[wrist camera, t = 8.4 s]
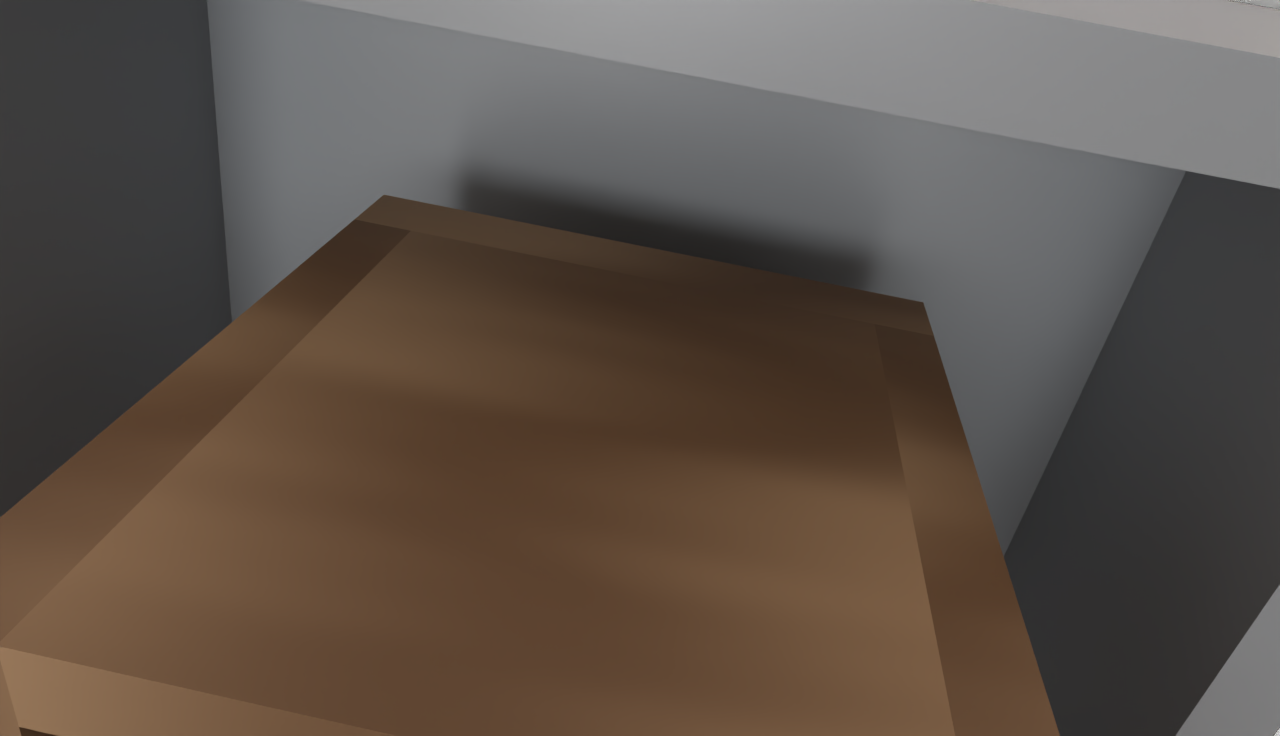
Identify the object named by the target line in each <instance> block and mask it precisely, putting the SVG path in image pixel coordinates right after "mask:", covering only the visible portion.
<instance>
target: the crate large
mask: <svg viewBox="0 0 1280 736" xmlns="http://www.w3.org/2000/svg"><path fill="white" fill-rule="evenodd" d="M383 195H389V196H394V197H399V198H404V199H409V200H414V201H419V202H424V203H429V204H434V205H439V206H444V207H449V208H454V209H459V210H464V211H469V212H474V213H479V214H484V215H489V216H494V217H499V218H504V219H509V220H514V221H519V222H524V223H529V224H534V225H539V226H544V227H549V228H554V229H559V230H564V231H569V232H574V233H579V234H584V235H589V236H594V237H599V238H604V239H609V240H614V241H619V242H624V243H629V244H634V245H639V246H644V247H649V248H654V249H659V250H664V251H669V252H674V253H679V254H684V255H689V256H694V257H699V258H704V259H709V260H714V261H719V262H724V263H729V264H734V265H739V266H744V267H749V268H754V269H759V270H764V271H769V272H774V273H779V274H784V275H789V276H794V277H799V278H804V279H809V280H814V281H819V282H824V283H829V284H834V285H839V286H844V287H849V288H854V289H859V290H864V291H869V292H874V293H879V294H884V295H889V296H894V297H899V298H904V299H909V300H914V301H919V302H923V303H924V306H925V309H926V312H927V315H928V319H929V322H930V325H931V328H932V331H933V334H934V338H935V341H936V344H937V347H938V350H939V354H940V357H941V360H942V363H943V366H944V369H945V373H946V376H947V379H948V382H949V385H950V388H951V392H952V395H953V398H954V401H955V404H956V407H957V411H958V414H959V417H960V420H961V423H962V426H963V430H964V433H965V436H966V439H967V442H968V446H969V449H970V452H971V455H972V458H973V461H974V465H975V468H976V471H977V474H978V477H979V480H980V484H981V487H982V490H983V493H984V496H985V499H986V503H987V506H988V509H989V512H990V515H991V518H992V522H993V525H994V528H995V531H996V534H997V538H998V541H999V544H1000V547H1001V550H1002V553H1003V557H1004V560H1005V563H1006V566H1007V569H1008V572H1009V576H1010V579H1011V582H1012V585H1013V588H1014V591H1015V595H1016V598H1017V601H1018V604H1019V607H1020V610H1021V614H1022V617H1023V620H1024V623H1025V626H1026V630H1027V633H1028V636H1029V639H1030V642H1031V645H1032V649H1033V652H1034V655H1035V658H1036V661H1037V664H1038V668H1039V671H1040V674H1041V677H1042V680H1043V683H1044V687H1045V690H1046V693H1047V696H1048V699H1049V702H1050V706H1051V709H1052V712H1053V715H1054V718H1055V722H1056V725H1057V728H1058V731H1059V734H1060V736H1274V734H1275V733H1276V732H1277V731H1278V729H1279V728H1280V10H1278V9H1273V8H1268V7H1262V6H1257V5H1251V4H1246V3H1241V2H1235V1H1230V0H0V517H1V516H2V515H4V514H5V513H6V512H7V511H8V510H10V509H11V508H12V507H13V506H14V505H16V504H17V503H18V502H19V501H20V500H21V499H23V498H24V497H25V496H26V495H27V494H29V493H30V492H31V491H32V490H33V489H35V488H36V487H37V486H38V485H39V484H40V483H42V482H43V481H44V480H45V479H46V478H48V477H49V476H50V475H51V474H52V473H54V472H55V471H56V470H57V469H58V468H59V467H61V466H62V465H63V464H64V463H65V462H67V461H68V460H69V459H70V458H71V457H73V456H74V455H75V454H76V453H77V452H79V451H80V450H81V449H82V448H83V447H84V446H86V445H87V444H88V443H89V442H90V441H92V440H93V439H94V438H95V437H96V436H98V435H99V434H100V433H101V432H102V431H103V430H105V429H106V428H107V427H108V426H109V425H111V424H112V423H113V422H114V421H115V420H117V419H118V418H119V417H120V416H121V415H122V414H124V413H125V412H126V411H127V410H128V409H130V408H131V407H132V406H133V405H134V404H136V403H137V402H138V401H139V400H140V399H142V398H143V397H144V396H145V395H146V394H147V393H149V392H150V391H151V390H152V389H153V388H155V387H156V386H157V385H158V384H159V383H161V382H162V381H163V380H164V379H165V378H166V377H168V376H169V375H170V374H171V373H172V372H174V371H175V370H176V369H177V368H178V367H180V366H181V365H182V364H183V363H184V362H185V361H187V360H188V359H189V358H190V357H191V356H193V355H194V354H195V353H196V352H197V351H199V350H200V349H201V348H202V347H203V346H205V345H206V344H207V343H208V342H209V341H210V340H212V339H213V338H214V337H215V336H216V335H218V334H219V333H220V332H221V331H222V330H224V329H225V328H226V327H227V326H228V325H229V324H231V323H232V322H233V321H234V320H235V319H237V318H238V317H239V316H240V315H241V314H243V313H244V312H245V311H246V310H247V309H248V308H250V307H251V306H252V305H253V304H254V303H256V302H257V301H258V300H259V299H260V298H262V297H263V296H264V295H265V294H266V293H268V292H269V291H270V290H271V289H272V288H273V287H275V286H276V285H277V284H278V283H279V282H281V281H282V280H283V279H284V278H285V277H287V276H288V275H289V274H290V273H291V272H292V271H294V270H295V269H296V268H297V267H298V266H300V265H301V264H302V263H303V262H304V261H306V260H307V259H308V258H309V257H310V256H311V255H313V254H314V253H315V252H316V251H317V250H319V249H320V248H321V247H322V246H323V245H325V244H326V243H327V242H328V241H329V240H331V239H332V238H333V237H334V236H335V235H336V234H338V233H339V232H340V231H341V230H342V229H344V228H345V227H346V226H347V225H348V224H350V223H351V222H352V221H353V220H354V219H355V218H357V217H358V216H359V215H360V214H361V213H363V212H364V211H365V210H366V209H367V208H369V207H370V206H371V205H372V204H373V203H375V202H376V201H377V200H378V199H379V198H380V197H382V196H383Z"/></svg>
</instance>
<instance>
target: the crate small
mask: <svg viewBox="0 0 1280 736" xmlns="http://www.w3.org/2000/svg"><path fill="white" fill-rule="evenodd" d="M0 736H1060V734H1059V731H1058V728H1057V725H1056V722H1055V718H1054V715H1053V712H1052V709H1051V706H1050V702H1049V699H1048V696H1047V693H1046V690H1045V687H1044V683H1043V680H1042V677H1041V674H1040V671H1039V668H1038V664H1037V661H1036V658H1035V655H1034V652H1033V649H1032V645H1031V642H1030V639H1029V636H1028V633H1027V630H1026V626H1025V623H1024V620H1023V617H1022V614H1021V610H1020V607H1019V604H1018V601H1017V598H1016V595H1015V591H1014V588H1013V585H1012V582H1011V579H1010V576H1009V572H1008V569H1007V566H1006V563H1005V560H1004V557H1003V553H1002V550H1001V547H1000V544H999V541H998V538H997V534H996V531H995V528H994V525H993V522H992V518H991V515H990V512H989V509H988V506H987V503H986V499H985V496H984V493H983V490H982V487H981V484H980V480H979V477H978V474H977V471H976V468H975V465H974V461H973V458H972V455H971V452H970V449H969V446H968V442H967V439H966V436H965V433H964V430H963V426H962V423H961V420H960V417H959V414H958V411H957V407H956V404H955V401H954V398H953V395H952V392H951V388H950V385H949V382H948V379H947V376H946V373H945V369H944V366H943V363H942V360H941V357H940V354H939V350H938V347H937V344H936V341H935V338H934V334H933V331H932V328H931V325H930V322H929V319H928V315H927V312H926V309H925V306H924V303H923V302H919V301H914V300H909V299H904V298H899V297H894V296H889V295H884V294H879V293H874V292H869V291H864V290H859V289H854V288H849V287H844V286H839V285H834V284H829V283H824V282H819V281H814V280H809V279H804V278H799V277H794V276H789V275H784V274H779V273H774V272H769V271H764V270H759V269H754V268H749V267H744V266H739V265H734V264H729V263H724V262H719V261H714V260H709V259H704V258H699V257H694V256H689V255H684V254H679V253H674V252H669V251H664V250H659V249H654V248H649V247H644V246H639V245H634V244H629V243H624V242H619V241H614V240H609V239H604V238H599V237H594V236H589V235H584V234H579V233H574V232H569V231H564V230H559V229H554V228H549V227H544V226H539V225H534V224H529V223H524V222H519V221H514V220H509V219H504V218H499V217H494V216H489V215H484V214H479V213H474V212H469V211H464V210H459V209H454V208H449V207H444V206H439V205H434V204H429V203H424V202H419V201H414V200H409V199H404V198H399V197H394V196H389V195H383V196H382V197H380V198H379V199H378V200H377V201H376V202H375V203H373V204H372V205H371V206H370V207H369V208H367V209H366V210H365V211H364V212H363V213H361V214H360V215H359V216H358V217H357V218H355V219H354V220H353V221H352V222H351V223H350V224H348V225H347V226H346V227H345V228H344V229H342V230H341V231H340V232H339V233H338V234H336V235H335V236H334V237H333V238H332V239H331V240H329V241H328V242H327V243H326V244H325V245H323V246H322V247H321V248H320V249H319V250H317V251H316V252H315V253H314V254H313V255H311V256H310V257H309V258H308V259H307V260H306V261H304V262H303V263H302V264H301V265H300V266H298V267H297V268H296V269H295V270H294V271H292V272H291V273H290V274H289V275H288V276H287V277H285V278H284V279H283V280H282V281H281V282H279V283H278V284H277V285H276V286H275V287H273V288H272V289H271V290H270V291H269V292H268V293H266V294H265V295H264V296H263V297H262V298H260V299H259V300H258V301H257V302H256V303H254V304H253V305H252V306H251V307H250V308H248V309H247V310H246V311H245V312H244V313H243V314H241V315H240V316H239V317H238V318H237V319H235V320H234V321H233V322H232V323H231V324H229V325H228V326H227V327H226V328H225V329H224V330H222V331H221V332H220V333H219V334H218V335H216V336H215V337H214V338H213V339H212V340H210V341H209V342H208V343H207V344H206V345H205V346H203V347H202V348H201V349H200V350H199V351H197V352H196V353H195V354H194V355H193V356H191V357H190V358H189V359H188V360H187V361H185V362H184V363H183V364H182V365H181V366H180V367H178V368H177V369H176V370H175V371H174V372H172V373H171V374H170V375H169V376H168V377H166V378H165V379H164V380H163V381H162V382H161V383H159V384H158V385H157V386H156V387H155V388H153V389H152V390H151V391H150V392H149V393H147V394H146V395H145V396H144V397H143V398H142V399H140V400H139V401H138V402H137V403H136V404H134V405H133V406H132V407H131V408H130V409H128V410H127V411H126V412H125V413H124V414H122V415H121V416H120V417H119V418H118V419H117V420H115V421H114V422H113V423H112V424H111V425H109V426H108V427H107V428H106V429H105V430H103V431H102V432H101V433H100V434H99V435H98V436H96V437H95V438H94V439H93V440H92V441H90V442H89V443H88V444H87V445H86V446H84V447H83V448H82V449H81V450H80V451H79V452H77V453H76V454H75V455H74V456H73V457H71V458H70V459H69V460H68V461H67V462H65V463H64V464H63V465H62V466H61V467H59V468H58V469H57V470H56V471H55V472H54V473H52V474H51V475H50V476H49V477H48V478H46V479H45V480H44V481H43V482H42V483H40V484H39V485H38V486H37V487H36V488H35V489H33V490H32V491H31V492H30V493H29V494H27V495H26V496H25V497H24V498H23V499H21V500H20V501H19V502H18V503H17V504H16V505H14V506H13V507H12V508H11V509H10V510H8V511H7V512H6V513H5V514H4V515H2V516H1V517H0Z"/></svg>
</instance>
